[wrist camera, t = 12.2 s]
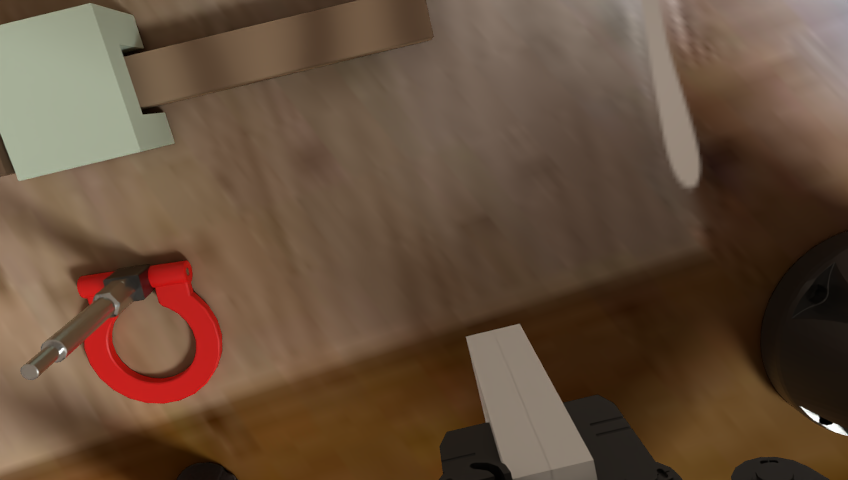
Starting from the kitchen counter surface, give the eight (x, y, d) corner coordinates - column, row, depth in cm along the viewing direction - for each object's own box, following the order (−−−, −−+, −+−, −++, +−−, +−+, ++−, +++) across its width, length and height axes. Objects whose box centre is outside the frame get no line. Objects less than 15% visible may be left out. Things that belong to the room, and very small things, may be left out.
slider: (133, 15, 39) (90, 3, 34) (175, 143, 41) (141, 151, 36) (22, 42, 39) (-39, 34, 34) (69, 168, 41) (18, 181, 36)
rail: (412, -43, 40) (416, -66, 34) (438, 71, 41) (445, 68, 35) (-11, 60, 40) (-81, 55, 34) (31, 169, 41) (-29, 182, 36)
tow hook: (237, 384, 46) (204, 253, 43) (173, 519, 33) (119, 341, 30) (111, 403, 46) (70, 273, 43) (-4, 545, 33) (-74, 370, 30)
